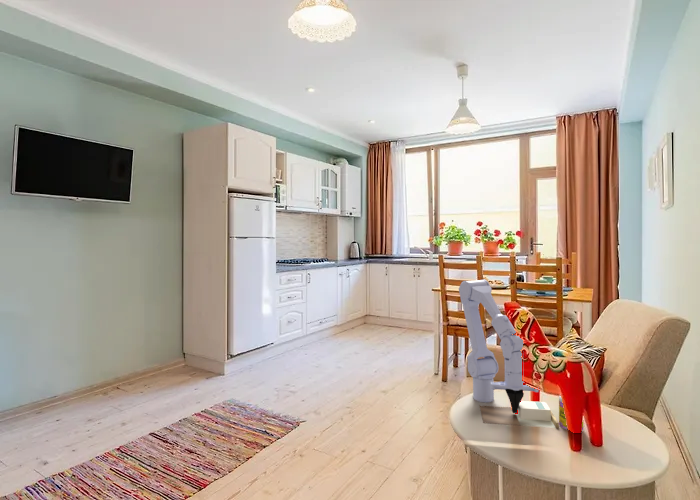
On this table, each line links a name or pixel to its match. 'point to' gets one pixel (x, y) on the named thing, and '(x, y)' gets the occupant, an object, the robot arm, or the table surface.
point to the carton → (534, 411)
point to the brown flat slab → (512, 418)
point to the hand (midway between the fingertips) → (514, 411)
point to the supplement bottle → (563, 415)
